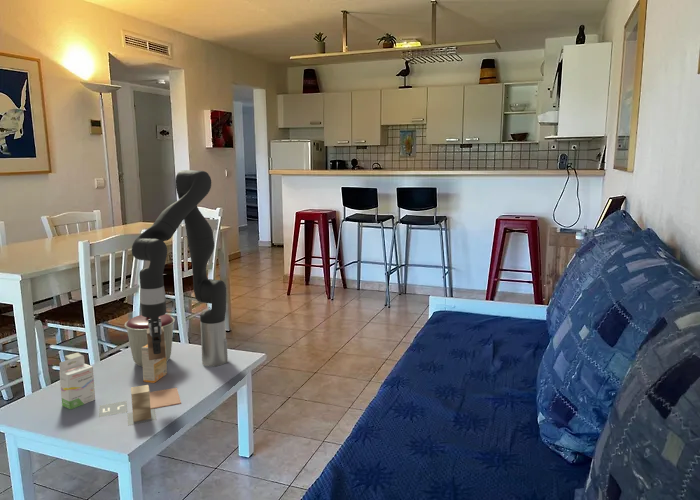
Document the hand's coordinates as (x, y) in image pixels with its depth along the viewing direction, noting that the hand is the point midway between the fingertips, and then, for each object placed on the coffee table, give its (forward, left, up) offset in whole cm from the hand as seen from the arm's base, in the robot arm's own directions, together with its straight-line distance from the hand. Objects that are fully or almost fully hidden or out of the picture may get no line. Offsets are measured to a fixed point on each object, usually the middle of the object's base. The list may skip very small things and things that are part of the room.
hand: (156, 350), depth 163 cm
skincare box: (+25, -19, -17) cm, 36 cm away
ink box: (+24, -8, -17) cm, 31 cm away
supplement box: (0, -18, -17) cm, 25 cm away
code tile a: (+14, +1, -17) cm, 22 cm away
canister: (0, -34, -17) cm, 38 cm away
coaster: (0, 0, -17) cm, 17 cm away
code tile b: (+6, +10, -17) cm, 21 cm away
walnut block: (0, 0, -2) cm, 2 cm away
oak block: (+6, +10, -17) cm, 21 cm away
